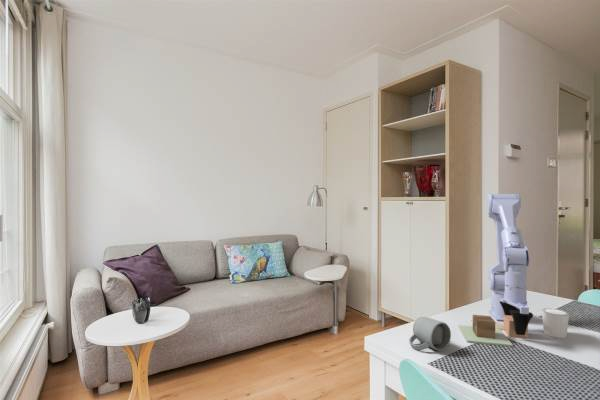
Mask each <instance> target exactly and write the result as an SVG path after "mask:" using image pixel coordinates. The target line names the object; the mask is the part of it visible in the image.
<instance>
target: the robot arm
mask: <svg viewBox="0 0 600 400" xmlns="http://www.w3.org/2000/svg"><path fill="white" fill-rule="evenodd" d="M486 201H487V202H486V205H487V215H488V218H490V219H492V220H493V222H494V223H493V224H494V226H495V227H494V228H495V241H496V242H495V243H496V244H495V245H496V261H497V262H496V263H497V264H496V263H495V265H493V266H491V268H490V269H489V270H488V286H489V289H490V290H491V291H492V293H491V310H488V313H489V314H491V316H492V318H494V319H495V320H496V321H500V322H501V321H502V322H504V315H510V316H512V317H513V320H514V326H515V332H516V334H517V335H525V332H526V329H527V325H528V326H529V323H530V321H531V319H532V318H533V317H534V314H533V313H532V312H530V309H529V308H530V307H528V300H527V293H528V292H527V290H528V289H527V287H528V285H527V284H528V283H527V282H528V281H527V276H528V275H527V272H528V271H527V268H528V267H529V265H530V260H531V259H530V252H529V248H528V247H527V244H525V243H524V239H523V234H522V231H521V230H520V229H519V228H517V220H516V218H517V217H518V215H519V212H520V210H521V206H522V199H521V195H520V194H519V193H489V194H488V195H487V200H486Z"/></svg>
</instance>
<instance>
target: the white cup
mask: <svg viewBox="0 0 600 400" xmlns="http://www.w3.org/2000/svg"><path fill="white" fill-rule="evenodd" d="M541 316H542V325H543V332H544V334H545V335H547V336H550V337H554V338H559V339H565V338H567V335H568V329H569V328H568V327H569V319H570V313H569V312H567V311H565V310H561V309H556V308H548V307H547V308H542V309H541Z"/></svg>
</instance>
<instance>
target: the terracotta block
mask: <svg viewBox="0 0 600 400" xmlns="http://www.w3.org/2000/svg"><path fill="white" fill-rule="evenodd" d="M503 326H504V330H503V331H504V332H505V333H506V335H507V336H508V337H510V338H522V339H528V338H529V324H528V325H527V329H526V332H525V335H517V334H516V332H515V326H514V320H513V317H512V316H510V315H504V321H503Z"/></svg>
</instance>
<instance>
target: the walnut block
mask: <svg viewBox="0 0 600 400" xmlns="http://www.w3.org/2000/svg"><path fill="white" fill-rule="evenodd" d="M491 316H492V315H491ZM491 316H490V315H481V314H472V320H473V323H472V327H473V332H474V333H475V335H476V336H477V337H484V338H495V322H496V321H495V320H494V319H493V317H491Z"/></svg>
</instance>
